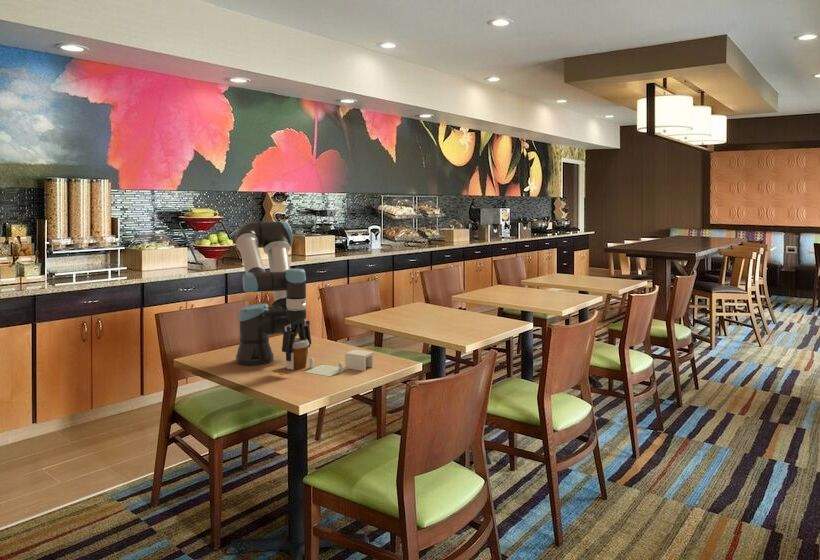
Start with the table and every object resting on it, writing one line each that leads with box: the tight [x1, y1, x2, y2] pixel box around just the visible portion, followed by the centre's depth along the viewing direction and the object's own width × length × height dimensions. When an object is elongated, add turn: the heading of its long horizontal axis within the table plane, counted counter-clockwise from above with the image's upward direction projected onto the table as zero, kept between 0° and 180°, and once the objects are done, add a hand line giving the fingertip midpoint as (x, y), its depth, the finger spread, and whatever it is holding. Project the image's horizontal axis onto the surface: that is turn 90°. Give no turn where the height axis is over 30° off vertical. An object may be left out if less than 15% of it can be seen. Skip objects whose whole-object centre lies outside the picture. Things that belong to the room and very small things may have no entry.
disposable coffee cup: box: [292, 337, 309, 370], centre depth 246 cm, size 10×10×12 cm
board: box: [304, 357, 349, 377], centre depth 244 cm, size 21×19×5 cm
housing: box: [344, 349, 374, 372], centre depth 246 cm, size 9×7×6 cm
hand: (297, 366), depth 246 cm, fingers closed on disposable coffee cup, 8 cm apart
